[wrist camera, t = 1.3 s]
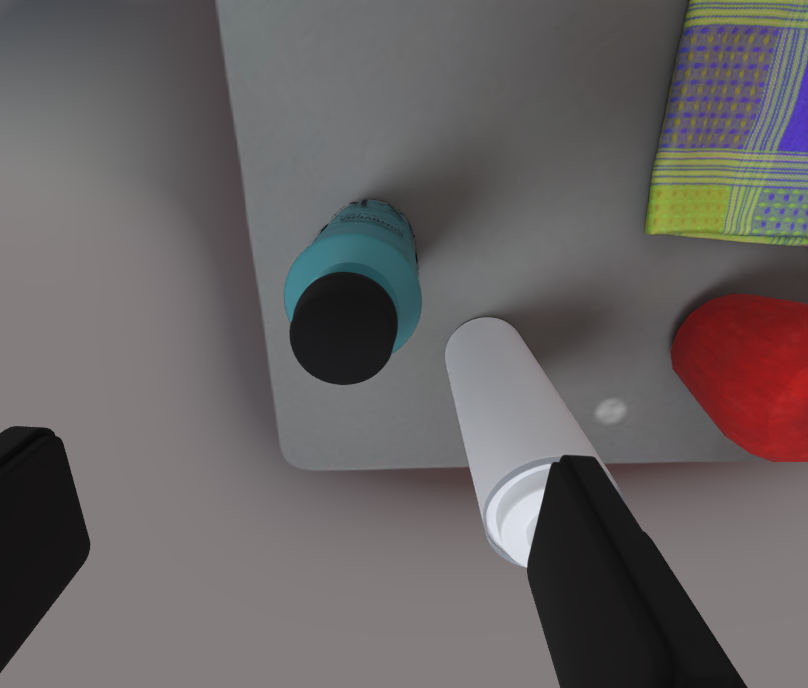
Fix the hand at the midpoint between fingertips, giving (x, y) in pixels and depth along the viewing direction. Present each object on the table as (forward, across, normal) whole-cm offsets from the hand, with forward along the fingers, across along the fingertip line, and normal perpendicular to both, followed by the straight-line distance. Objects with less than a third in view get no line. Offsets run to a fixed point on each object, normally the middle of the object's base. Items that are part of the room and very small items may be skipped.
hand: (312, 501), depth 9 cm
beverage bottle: (+28, 0, 0) cm, 28 cm away
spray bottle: (+28, -10, +9) cm, 31 cm away
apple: (+29, -28, +6) cm, 41 cm away
